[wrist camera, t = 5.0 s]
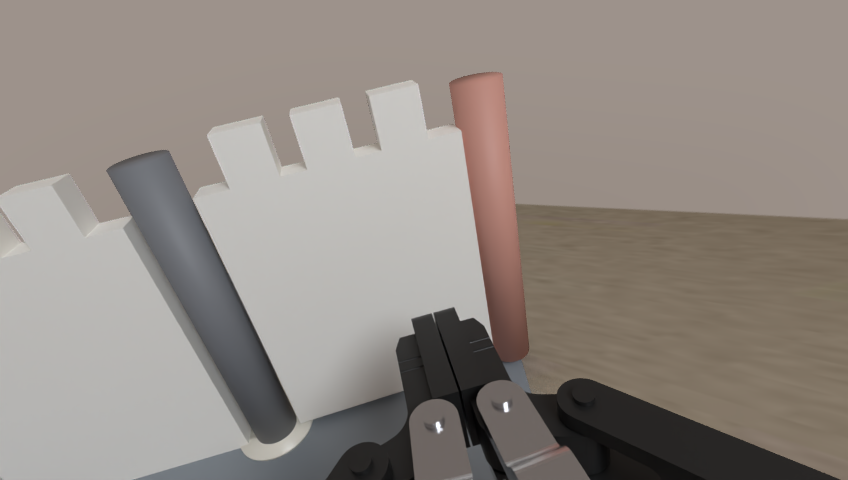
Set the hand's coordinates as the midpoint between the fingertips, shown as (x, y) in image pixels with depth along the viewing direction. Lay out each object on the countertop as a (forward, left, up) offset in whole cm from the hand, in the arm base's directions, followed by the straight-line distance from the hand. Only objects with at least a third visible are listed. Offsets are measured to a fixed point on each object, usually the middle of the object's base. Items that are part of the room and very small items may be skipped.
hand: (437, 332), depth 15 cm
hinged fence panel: (-2, +5, -7) cm, 9 cm away
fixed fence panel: (-15, +2, -7) cm, 17 cm away
